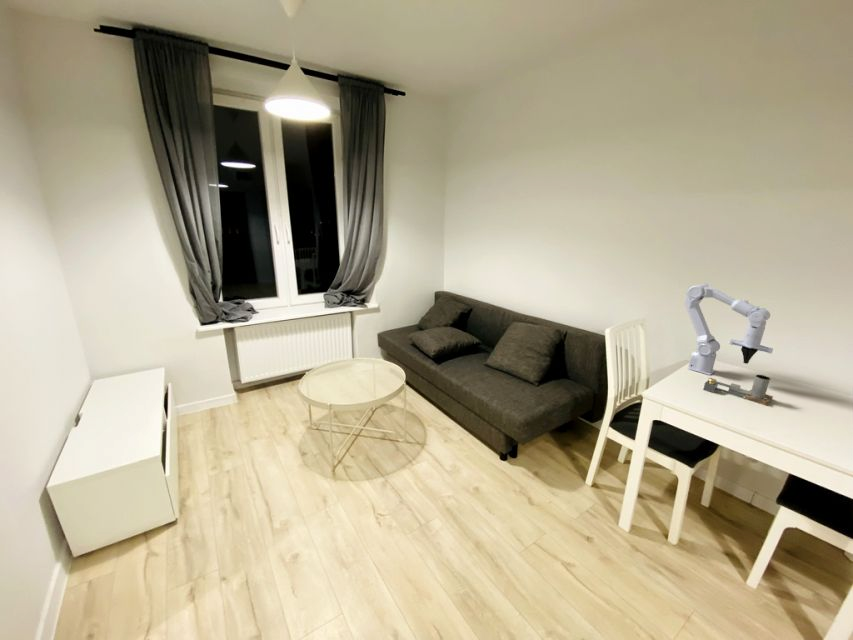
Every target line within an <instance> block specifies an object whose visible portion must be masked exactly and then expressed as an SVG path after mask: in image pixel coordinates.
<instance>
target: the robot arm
mask: <svg viewBox="0 0 853 640" xmlns="http://www.w3.org/2000/svg"><path fill="white" fill-rule="evenodd" d="M685 294H686V297H685V302H684V305H685V308H686V311H687V314H688V316H689V318H690V321H691V324H692V325H693V329H694V331H695V333H696V336H697V339H696V343H697V347H696V348H697V349H696V350H697V351H695V350H694V351H692V353H691V356H690V358H689V364H688V367H687V369H688V370H690V371H694V372H698V373H701V374H705V375H708V376H711V375H713V373H714V372H716V370H715V369H714V365H715V361H716V358H717V352H719V350H720V348H721V345H720V342H719V341H717V340H716V338H715V336H714V335H713V334H711V331H710V329H709V326H708V324H707V322H706V319H705V316H704V313H703V311H702V309H701V306H700V303H701V302H702V301H703V299H704V298H705V299H707V298H713V299H715V300H718V301H720V302H722V303H724V304H726V305H728V306H730V308H731V310H732V311H734V312H736V313H737V314H740V315H742V316H744V317H745V318H748V320H749V322H748V324H747V328H746V330H745V335H744V338H743V340H738V339H737V340H736V339H730V341H729V345H732V346H733V345H734V346H738V347H741V349H740V351H741V353H742V357H743V364H746V365H747V364H749V362H750V360H752V357H753V356H755V354H756V353H757V352H758V351H759V352H765V353H767V354H773V351H774V348H772V347H768V346H765V345H761V343H762V340H763V337H764V336H763V335H764V332H765V330H766V326H767V321H768V320H769V319H770V317H771V313H770V311H769V310H768V309H766V308H763V307H762V308H761V307H760V306H758V305H754V304H753V303H750V302H749V300H747V299H741V298H740V299H735V298H733V297H731V296H730V295H728V294H726V293H725V292H723V291H721V290H719V289H717V288H715V287H714V286H712V285H709V284H707V283H699V284H697V285H691V286H690V287H689V289H688V290H687V291H686V292H685Z"/></svg>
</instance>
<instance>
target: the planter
mask: <svg viewBox="0 0 853 640" xmlns="http://www.w3.org/2000/svg"><path fill="white" fill-rule="evenodd" d="M770 381H771V378H770V377H768V376H767V375H764V374H756V375H755V378H754V380H753V384H752V386H751V389H750V390H751V393H750V396H751V397H754V398H757V399H760V400H764V401H765V398H764V397H765V394H767V390H768V388H769V384H770Z"/></svg>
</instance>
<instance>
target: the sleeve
mask: <svg viewBox="0 0 853 640" xmlns="http://www.w3.org/2000/svg"><path fill="white" fill-rule="evenodd" d="M715 383H718V385H720V386H722V387H723V386H724V387H727V388H729V387H730V385H731V384H726V383H724V382H720V381H716V382H715ZM740 389H742V388H741V387H740ZM716 391H719V392H723V393H725V394H727V395H731V396H734V397H739V398H742V399H744V398H745V397H744V396H742V395H739V394H736V393H733V392H730V391H728V390H726V389H723V388H720V387H717V390H716Z"/></svg>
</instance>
